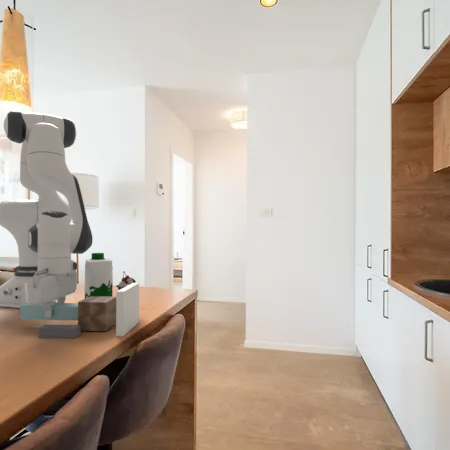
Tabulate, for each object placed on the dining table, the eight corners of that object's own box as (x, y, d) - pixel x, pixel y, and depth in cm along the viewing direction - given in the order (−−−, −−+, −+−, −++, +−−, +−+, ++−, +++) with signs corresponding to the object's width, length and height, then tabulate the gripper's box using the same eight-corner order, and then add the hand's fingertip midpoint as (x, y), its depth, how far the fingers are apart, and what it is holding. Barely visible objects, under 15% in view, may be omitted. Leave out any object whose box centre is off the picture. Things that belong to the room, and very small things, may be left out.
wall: (116, 336, 95) (116, 291, 95) (132, 321, 109) (132, 282, 109) (123, 336, 95) (123, 291, 95) (139, 321, 109) (139, 282, 109)
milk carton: (109, 308, 126) (109, 252, 126) (114, 314, 118) (114, 254, 118) (83, 311, 122) (83, 253, 122) (86, 317, 114) (86, 255, 114)
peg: (20, 319, 101) (20, 305, 101) (28, 315, 105) (28, 302, 105) (81, 320, 100) (81, 306, 100) (87, 317, 104) (87, 303, 104)
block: (77, 330, 99) (78, 301, 99) (90, 322, 107) (90, 296, 106) (105, 331, 98) (106, 302, 98) (116, 323, 106) (116, 296, 106)
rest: (38, 337, 93) (38, 327, 93) (45, 333, 96) (45, 324, 96) (75, 338, 93) (75, 328, 93) (80, 334, 96) (80, 325, 96)
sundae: (117, 320, 111) (117, 272, 111) (114, 314, 117) (114, 269, 117) (138, 317, 113) (138, 271, 113) (134, 313, 119) (135, 268, 119)
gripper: (45, 271, 92) (45, 324, 92) (80, 263, 113) (80, 306, 113) (21, 271, 93) (21, 324, 93) (61, 263, 113) (61, 306, 113)
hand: (54, 314), depth 103 cm, fingers closed on peg, 4 cm apart
